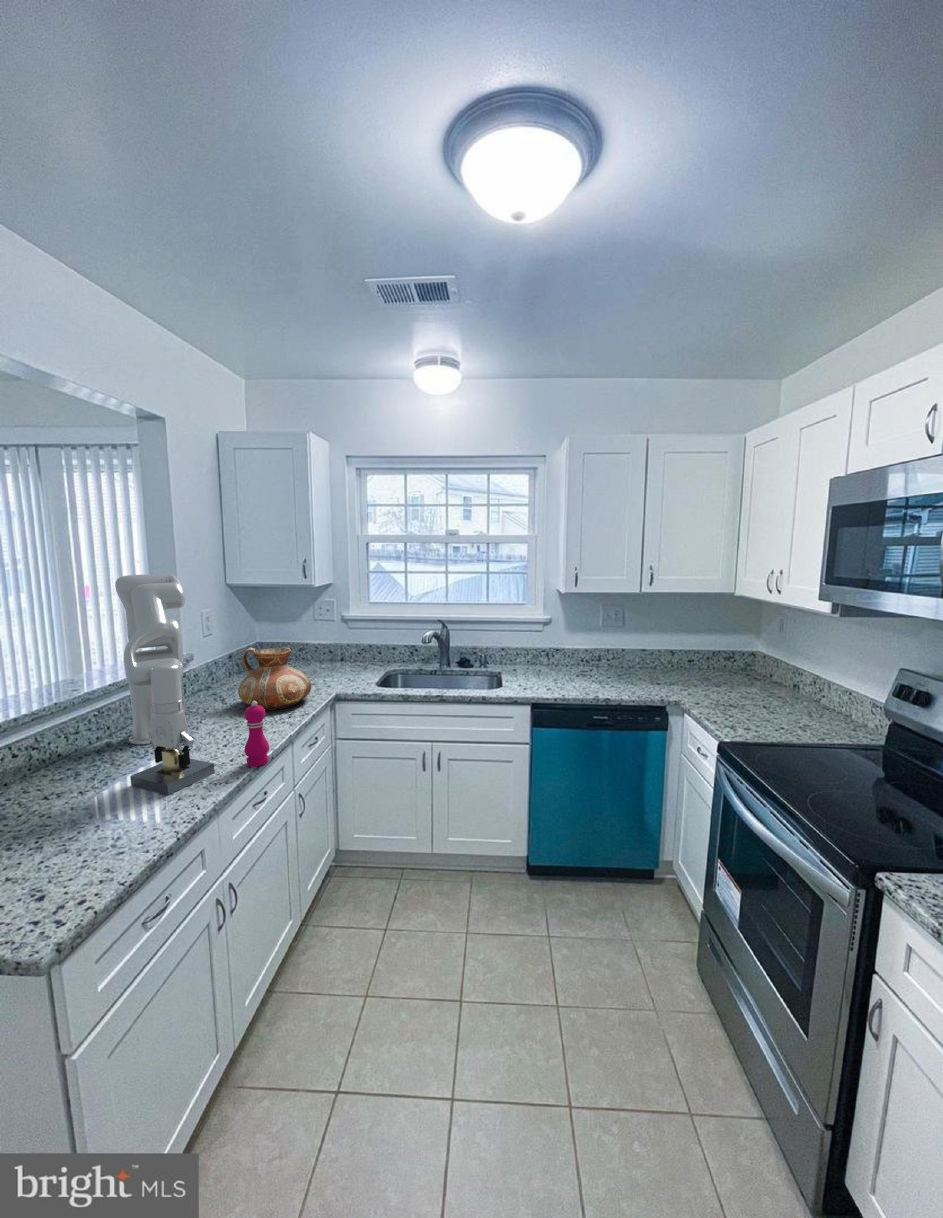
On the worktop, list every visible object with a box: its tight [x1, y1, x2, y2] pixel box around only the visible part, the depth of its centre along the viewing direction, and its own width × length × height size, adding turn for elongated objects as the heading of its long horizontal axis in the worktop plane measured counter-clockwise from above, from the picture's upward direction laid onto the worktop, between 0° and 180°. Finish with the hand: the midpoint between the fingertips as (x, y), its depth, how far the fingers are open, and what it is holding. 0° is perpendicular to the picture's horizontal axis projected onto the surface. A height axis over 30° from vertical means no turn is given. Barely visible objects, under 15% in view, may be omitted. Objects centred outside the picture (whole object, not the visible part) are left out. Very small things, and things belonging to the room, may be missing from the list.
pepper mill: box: [243, 701, 270, 768], centre depth 159 cm, size 7×7×20 cm
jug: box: [237, 647, 312, 711], centre depth 221 cm, size 30×30×25 cm
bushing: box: [162, 748, 183, 776], centre depth 149 cm, size 5×5×9 cm
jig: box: [130, 758, 215, 796], centre depth 149 cm, size 15×15×3 cm
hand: (172, 763), depth 148 cm, fingers open, 9 cm apart
